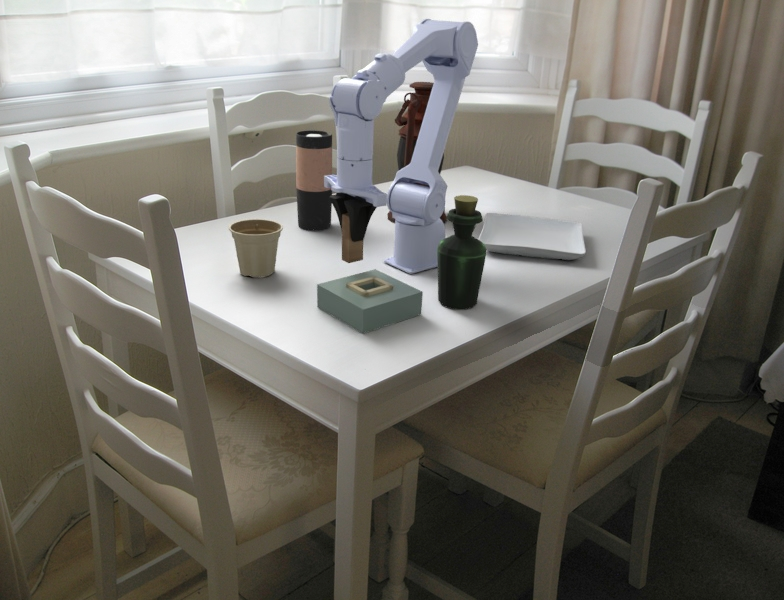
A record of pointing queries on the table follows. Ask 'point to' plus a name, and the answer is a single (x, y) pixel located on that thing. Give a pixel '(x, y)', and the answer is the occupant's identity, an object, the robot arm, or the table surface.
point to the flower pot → (256, 245)
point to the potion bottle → (461, 257)
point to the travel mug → (313, 179)
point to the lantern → (413, 128)
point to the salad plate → (533, 236)
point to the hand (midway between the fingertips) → (353, 238)
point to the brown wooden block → (350, 243)
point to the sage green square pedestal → (369, 300)
